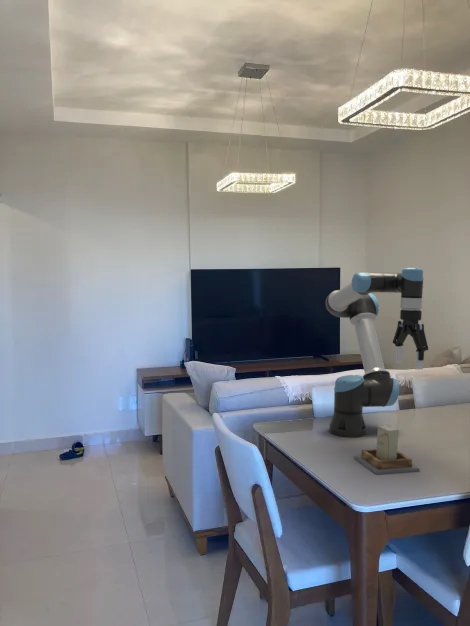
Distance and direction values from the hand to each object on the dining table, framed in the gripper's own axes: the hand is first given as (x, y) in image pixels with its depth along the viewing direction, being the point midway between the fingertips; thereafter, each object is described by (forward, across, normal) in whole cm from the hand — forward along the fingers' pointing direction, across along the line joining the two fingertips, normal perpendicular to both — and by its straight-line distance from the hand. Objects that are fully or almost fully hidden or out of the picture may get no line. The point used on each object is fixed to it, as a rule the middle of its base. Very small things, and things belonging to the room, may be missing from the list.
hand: (408, 366), depth 203 cm
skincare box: (+31, -14, +16) cm, 38 cm away
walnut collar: (+32, -14, +16) cm, 38 cm away
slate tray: (+32, -14, +16) cm, 38 cm away
